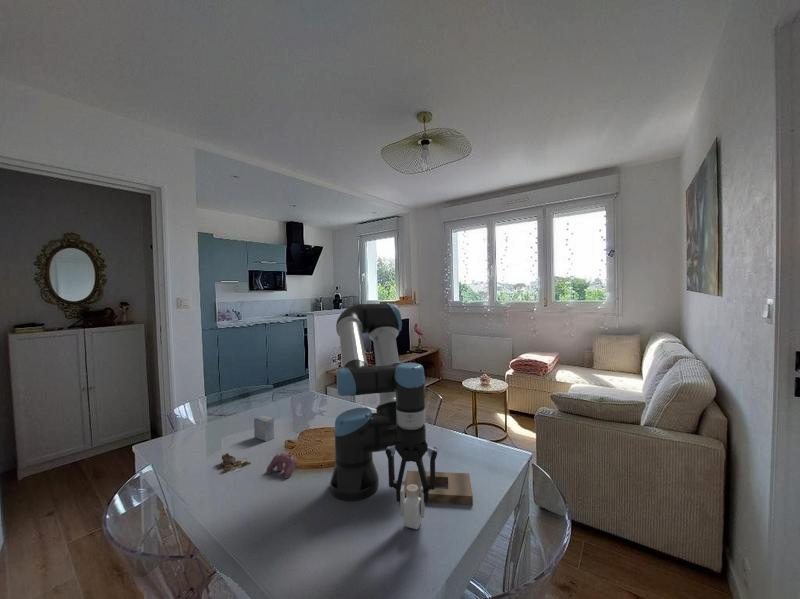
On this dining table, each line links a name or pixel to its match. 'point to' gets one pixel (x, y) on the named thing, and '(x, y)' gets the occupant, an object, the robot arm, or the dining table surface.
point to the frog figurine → (233, 463)
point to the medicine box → (264, 428)
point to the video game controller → (280, 461)
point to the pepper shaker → (412, 507)
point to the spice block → (455, 493)
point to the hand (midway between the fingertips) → (412, 513)
